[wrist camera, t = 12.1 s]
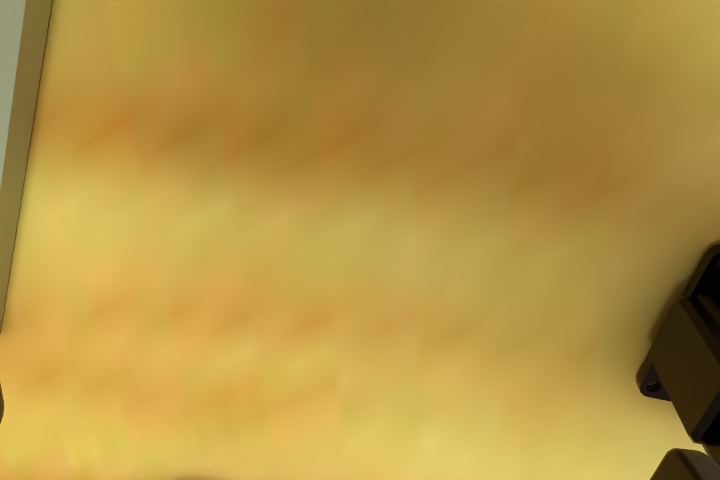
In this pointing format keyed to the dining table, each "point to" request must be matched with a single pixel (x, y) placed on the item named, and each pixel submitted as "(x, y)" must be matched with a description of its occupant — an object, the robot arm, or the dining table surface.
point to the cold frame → (17, 111)
